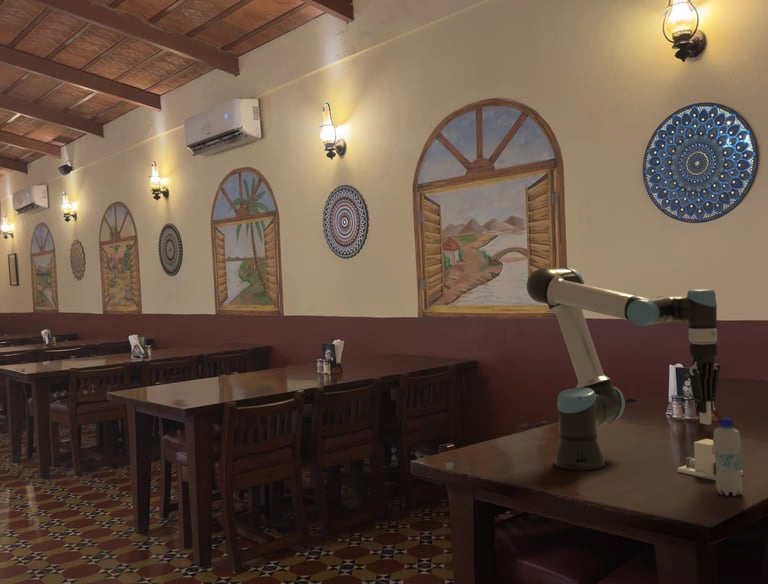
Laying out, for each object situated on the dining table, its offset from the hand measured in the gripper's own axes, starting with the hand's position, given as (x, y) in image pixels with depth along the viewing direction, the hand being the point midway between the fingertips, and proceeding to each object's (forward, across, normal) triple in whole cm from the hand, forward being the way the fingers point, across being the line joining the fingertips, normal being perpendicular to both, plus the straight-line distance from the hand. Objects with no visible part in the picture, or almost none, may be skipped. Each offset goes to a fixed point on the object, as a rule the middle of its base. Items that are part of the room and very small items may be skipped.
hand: (705, 423), depth 202 cm
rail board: (+15, 0, -1) cm, 15 cm away
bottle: (+15, -13, -15) cm, 24 cm away
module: (+13, 0, -1) cm, 13 cm away
